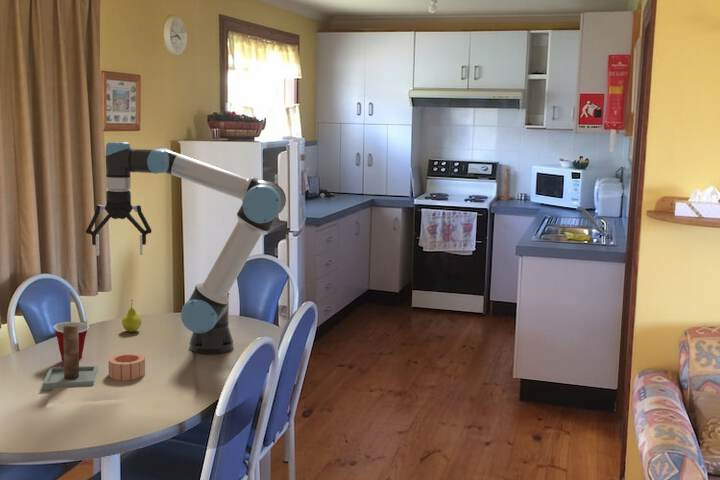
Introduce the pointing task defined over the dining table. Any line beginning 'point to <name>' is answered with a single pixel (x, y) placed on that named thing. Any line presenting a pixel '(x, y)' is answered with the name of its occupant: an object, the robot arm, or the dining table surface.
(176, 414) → the dining table surface
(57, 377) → the dish
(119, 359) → the pink brick ring
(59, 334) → the plastic cup
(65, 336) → the dowel
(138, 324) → the fruit
